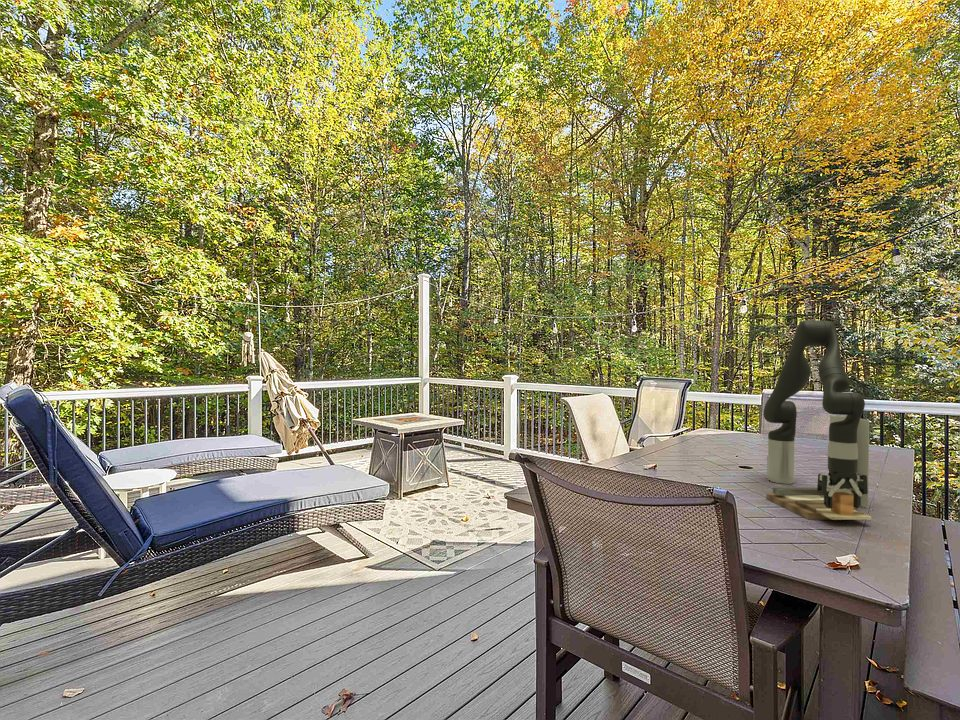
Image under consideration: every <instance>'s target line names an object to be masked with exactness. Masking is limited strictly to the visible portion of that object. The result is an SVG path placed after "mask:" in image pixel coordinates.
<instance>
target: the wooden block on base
mask: <svg viewBox="0 0 960 720" xmlns="http://www.w3.org/2000/svg"><path fill="white" fill-rule="evenodd" d="M831 497H833V501H832V508H831V509H816V512H817V513H819V514H821V515H824V516H826V517H828V518H830V519H829V520H832V521H833V520H834V521H838V520H840V521H841V520H844V521H845V520H855V521H857V520H858V521H859V520H860V521H861V520H872V516H870V515H868V514H866V513H864V512H863V513H864V514H863V513H861V512H862V511H861V512H858V511H859V510H858V511H856V510H853V499H854V495H851V494H848V493H846V492H834V493H833V495H832V496H831Z"/></svg>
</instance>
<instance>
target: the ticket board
mask: <svg viewBox="0 0 960 720" xmlns="http://www.w3.org/2000/svg"><path fill="white" fill-rule="evenodd" d="M772 491H773V492H772V493H770V492H766V494H765V499H766V500H768V501H769V502H772V503H774V504H776V505H778V506H780V507H782V508H784V509H786V510H788V511H790V512H792V513H794V514H797V515H798V516H800V517H802V518H804V519H806V520H831V519H830V518H828V517H826V516H824V515H821V514H819V513H817V512H816V509H831V508H827V507H826V506H825V505H824V495H823V494H821V493H819V492H817V486H814V487H810V486H809V487H807V486H805V487H800V486H799V487H796V486H795V487H791V486H790V487H782V486H781V487H773V489H772ZM853 510H856V511H858V512H861V513H863V514H865V512H863V511H860V510H858V508H855V507H853Z"/></svg>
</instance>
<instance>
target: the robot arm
mask: <svg viewBox="0 0 960 720" xmlns="http://www.w3.org/2000/svg"><path fill="white" fill-rule="evenodd" d="M839 342H840V341H839V336H838V332H837V328H836V325H835V324H834V322H833V321H830V320H822V319H821V320H820V319H817V320H816V319H815V320H814V319H807V320H806V319H804V320H802V321H800V322H799V324H798V326H797V327H796V330H795V333H794V336H793V340H792V343H791V346H790V350H789V353H788V356H787V358H786V360H785V362H784V364H783V367H782V369H781V371H780V372H779V373H780V374H779V376H778V379H777V382H776V384H775V386H774V389H773V390H772V392H771V394H770V395H769V397H768V398H767V401H766V403H765V405H764V407H763V418H764V420H765V421H766V422H768V423H771V424H781V426H780V427H779V428H776V429H773V430H771V431H769V432H768V435H767V440H768V443H767V448H768V449H767V454H768V455H767V457H766V479H767V480H768V481H769V480H770V481H769V482H773V483H776V484H785V485H787V484H788V485H789V484H794V483H795V440H796V439H795V437H796V431H797V430H796V428H797V415H798V413H797V406H796V403H794V401H791V400H788V399H789V398H791V397H793V396H794V395H796V394H797V393H799V392H800V391H801V390H803V389H804V387H805V386H806V385H807V383H808V381H809V379H810V377H811V374H812V369H811V366H810V363H809V362H808V360H807V358H806V356H805V354H804V353H805V350H806V349H805V348H807V347H824V348H825V351H826V352H825V355H824V356H823V358H822V359H821V361H820V362H819V364H818V369H817V370H818V375H819V379H820V381H821V385H822V391H823V395H822V408H823V409H824V411H825V412H826V413H827V414H829V415H838V416H841V415H842V416H843V415H844V416H845V417H846V415H847V417H846V418H845V419H844V420H843V421H838V422H833V423H831V424H830V423H829V426H828V445H827V469H828V474H823V473H818V474H817V484H816V487H817V492H819V493H821V494H823V495H822V496H823V497H824V505H825V506H826V507H827V508H832V501H833V497H831V496H832V495H833V493H834V492H835V491H837V490H838V489H844V488H845V489H850V491H851V492H852V493H853V495H854V499H853V507H854V508H856V509H860V507H861V506H860V505H861V496H862V495H863V494H867V493H868V486H867V476H866V475H863V474H860V473H858V474H857V475H856V473H857V472H858V448H857V428H858V425H859V421H860V419H862V415H863V413H864V410H865V405H866V402H865V398H864V396H863V395H861V393H860V392H859V393H858V392H856V391H855V392H854V391H853V392H852V391H851V392H850V391H849V392H848V391H847V390H848V389H849V388H850V381H849V377H848V375H847V373H846V369H845V367H844V365H843V362H842V356H841V348H840V343H839ZM845 391H846V392H845ZM829 480H830V481H829ZM856 480H857V484H858V486H857V485H856V484H855V482H856ZM832 485H833V486H834V487H832Z"/></svg>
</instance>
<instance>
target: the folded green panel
mask: <svg viewBox="0 0 960 720" xmlns="http://www.w3.org/2000/svg"><path fill="white" fill-rule="evenodd" d="M846 417H847V415H845V416H841V415H835V414H829V425H830V424H831V423H833V422H838V421H843V420H844V419H845V418H846ZM857 448H858V472H857V473H856V475H857V474H858V473H860V474H863V475H866V476H867V486H868V493H867V494H863V495H862V496H861V505H860V506H859V507H861V506H862V507H861V508H864V507H865V508H864V509H867V508H868V509H869V494H870V493H869V492H870V491H869V489H870V487H869V485H870V484H869V483H870V477H869V474H870V473H869V472H870V467H869V466H870V420H868V419H864V418H860V421H859V425H858V428H857ZM828 480H829V479H828ZM829 481H830V480H829ZM829 481H828V482H829ZM855 484H856V485H857V486H858V484H857V480H856V482H855ZM832 487H834V486H833V485H832ZM835 492H846V493H848V494H851V495H853V493H852V492H851V491H850V489H845V488H844V489H838V490H837V491H835Z"/></svg>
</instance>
